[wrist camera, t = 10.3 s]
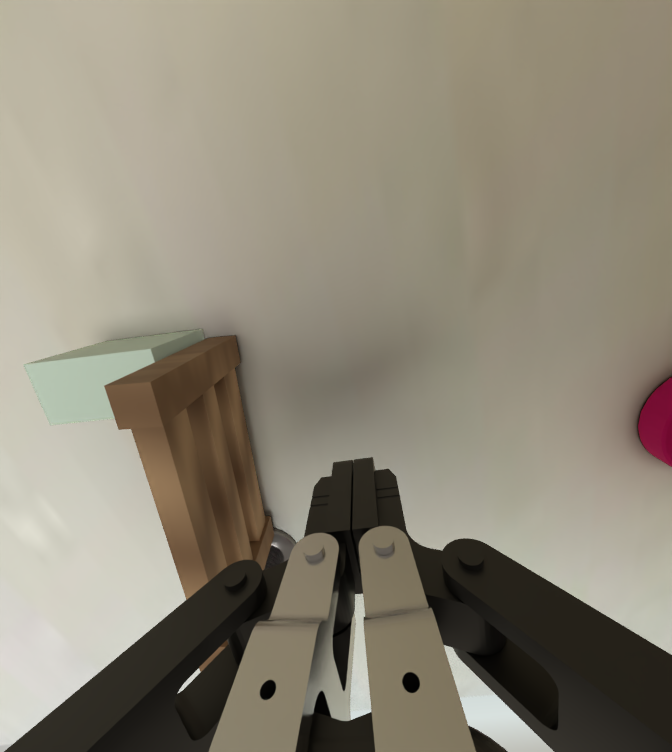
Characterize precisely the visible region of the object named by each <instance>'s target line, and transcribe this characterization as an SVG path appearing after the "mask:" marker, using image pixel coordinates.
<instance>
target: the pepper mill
mask: <svg viewBox="0 0 672 752" xmlns="http://www.w3.org/2000/svg"><path fill="white" fill-rule="evenodd" d="M638 430H639V435H640V439H641V442H642V444H643V445H644V447H645V448H646V449H647V451H648V452H649V453H651V454H652V455H653V456H655V457H656V458H658V459H660V460H661V461H663V462H665V463H666V464H668V465H669V466H671V467H672V377H671V378H669V379H668V380H667V381H666V382H664V383H663V384H662V385H661V386H660V387H658V388H657V389H656V390H655V391H654V392H653V393H652V395H651V396H650V397H649V398H648V400H647V402H646V403H645V405H644V407H643V409H642V411H641V414H640V419H639V424H638Z"/></svg>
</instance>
